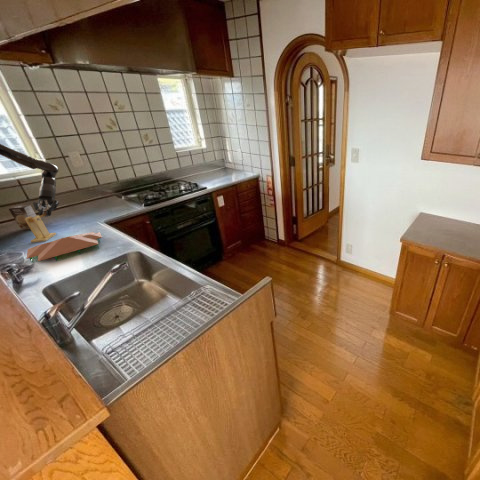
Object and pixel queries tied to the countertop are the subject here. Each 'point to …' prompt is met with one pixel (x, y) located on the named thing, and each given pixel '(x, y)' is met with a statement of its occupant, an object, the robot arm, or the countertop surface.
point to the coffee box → (22, 215)
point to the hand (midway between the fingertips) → (44, 215)
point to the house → (64, 246)
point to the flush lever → (40, 216)
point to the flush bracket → (39, 229)
